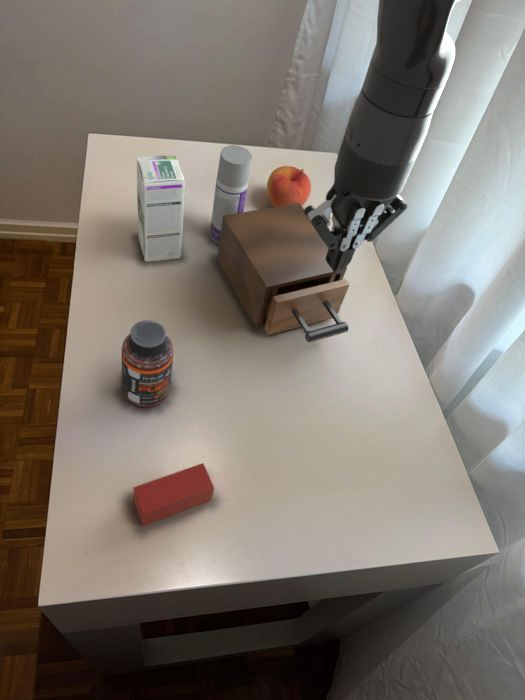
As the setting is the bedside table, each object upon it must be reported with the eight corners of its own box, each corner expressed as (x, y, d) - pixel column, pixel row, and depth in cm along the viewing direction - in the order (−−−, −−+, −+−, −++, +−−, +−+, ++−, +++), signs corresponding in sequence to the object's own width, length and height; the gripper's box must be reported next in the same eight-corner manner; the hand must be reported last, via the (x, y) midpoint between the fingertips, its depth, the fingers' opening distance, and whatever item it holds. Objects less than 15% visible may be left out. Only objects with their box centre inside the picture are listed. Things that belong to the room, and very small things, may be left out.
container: (227, 222, 94) (239, 141, 83) (244, 239, 93) (259, 159, 81) (204, 231, 92) (213, 149, 80) (221, 249, 90) (233, 168, 79)
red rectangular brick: (200, 476, 67) (203, 462, 64) (211, 500, 65) (214, 487, 62) (133, 500, 63) (133, 487, 61) (142, 526, 62) (142, 514, 59)
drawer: (355, 345, 82) (370, 313, 76) (285, 365, 77) (296, 334, 72) (294, 255, 91) (304, 221, 86) (229, 269, 87) (235, 234, 81)
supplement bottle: (139, 417, 70) (138, 363, 61) (113, 383, 72) (109, 326, 63) (179, 395, 73) (185, 339, 64) (153, 363, 75) (155, 305, 66)
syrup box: (181, 259, 88) (188, 179, 76) (143, 263, 86) (143, 182, 74) (173, 233, 91) (178, 154, 79) (136, 237, 89) (135, 155, 78)
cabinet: (331, 309, 86) (347, 268, 80) (256, 328, 82) (266, 287, 75) (287, 244, 94) (299, 202, 87) (216, 259, 89) (222, 215, 82)
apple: (261, 192, 101) (269, 152, 95) (301, 195, 102) (311, 156, 96) (265, 220, 96) (274, 180, 90) (307, 222, 98) (318, 183, 92)
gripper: (345, 171, 52) (303, 299, 66) (455, 154, 57) (395, 276, 71) (307, 125, 56) (274, 255, 70) (414, 113, 61) (364, 236, 75)
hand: (336, 266), depth 70 cm, fingers closed
